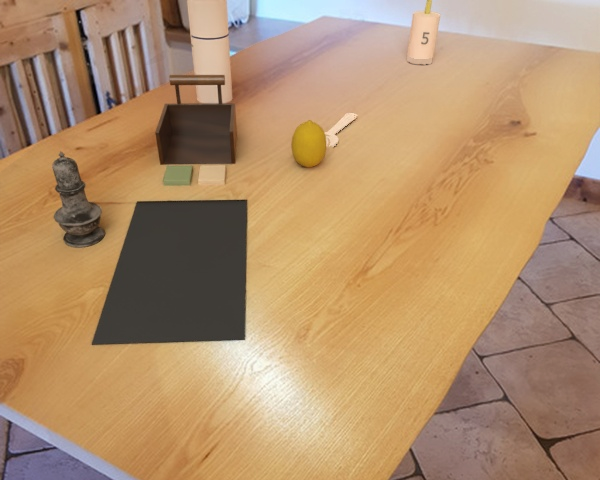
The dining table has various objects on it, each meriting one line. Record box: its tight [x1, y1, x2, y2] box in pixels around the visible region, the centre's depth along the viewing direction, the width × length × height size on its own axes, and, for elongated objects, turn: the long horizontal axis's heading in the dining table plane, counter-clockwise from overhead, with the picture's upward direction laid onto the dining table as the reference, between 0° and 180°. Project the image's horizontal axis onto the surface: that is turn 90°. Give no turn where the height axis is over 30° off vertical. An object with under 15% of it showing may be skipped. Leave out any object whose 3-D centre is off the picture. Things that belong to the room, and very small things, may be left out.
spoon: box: [324, 112, 358, 149], centre depth 100 cm, size 5×18×1 cm, turn 152°
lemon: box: [290, 119, 327, 168], centre depth 86 cm, size 6×6×8 cm
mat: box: [91, 199, 248, 346], centre depth 73 cm, size 40×16×1 cm, turn 4°
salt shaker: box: [51, 151, 106, 248], centre depth 69 cm, size 6×6×12 cm
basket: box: [154, 74, 238, 166], centre depth 90 cm, size 12×12×11 cm
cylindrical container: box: [186, 0, 233, 103], centre depth 103 cm, size 7×7×25 cm
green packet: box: [162, 164, 194, 187], centre depth 84 cm, size 5×4×1 cm
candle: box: [406, 0, 441, 59], centre depth 129 cm, size 6×6×15 cm
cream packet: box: [197, 164, 227, 186], centre depth 85 cm, size 5×4×1 cm
